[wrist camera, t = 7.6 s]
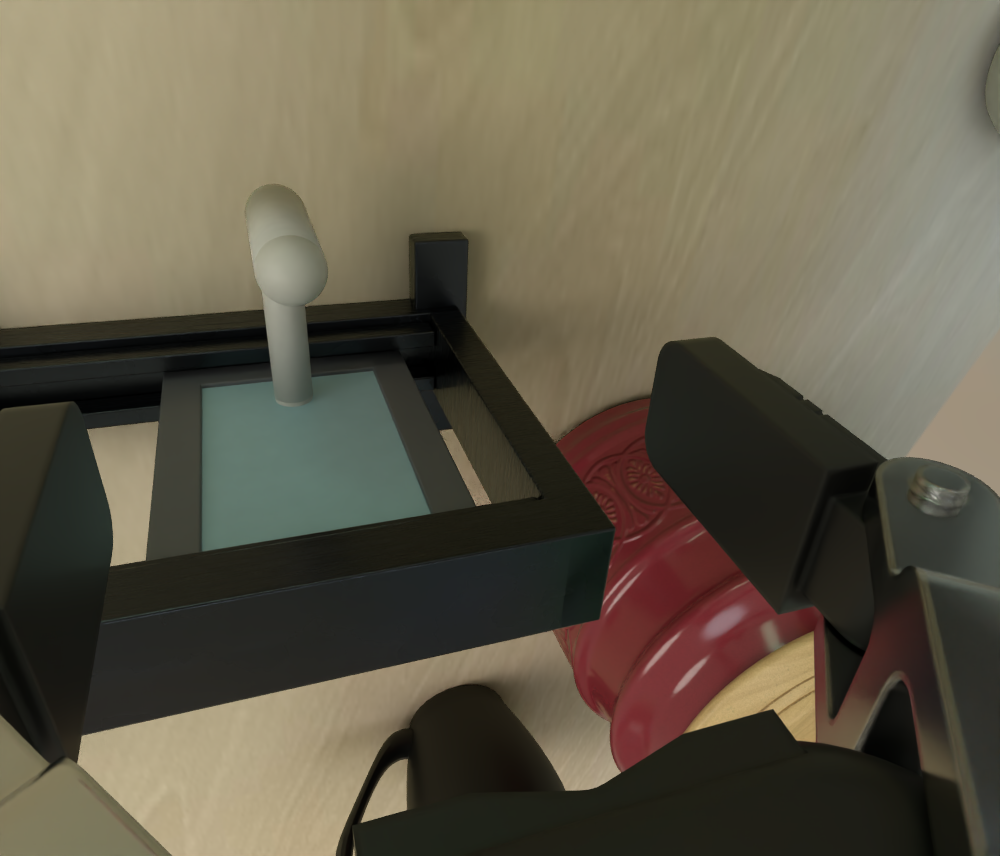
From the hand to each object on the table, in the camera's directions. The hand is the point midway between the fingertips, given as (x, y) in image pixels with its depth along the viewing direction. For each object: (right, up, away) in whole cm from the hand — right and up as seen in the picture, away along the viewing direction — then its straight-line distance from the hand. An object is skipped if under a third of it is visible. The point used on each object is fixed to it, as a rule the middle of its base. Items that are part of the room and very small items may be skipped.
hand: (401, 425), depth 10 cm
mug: (-3, -16, +31) cm, 35 cm away
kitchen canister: (+8, -4, +27) cm, 29 cm away
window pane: (-6, +5, +14) cm, 16 cm away
